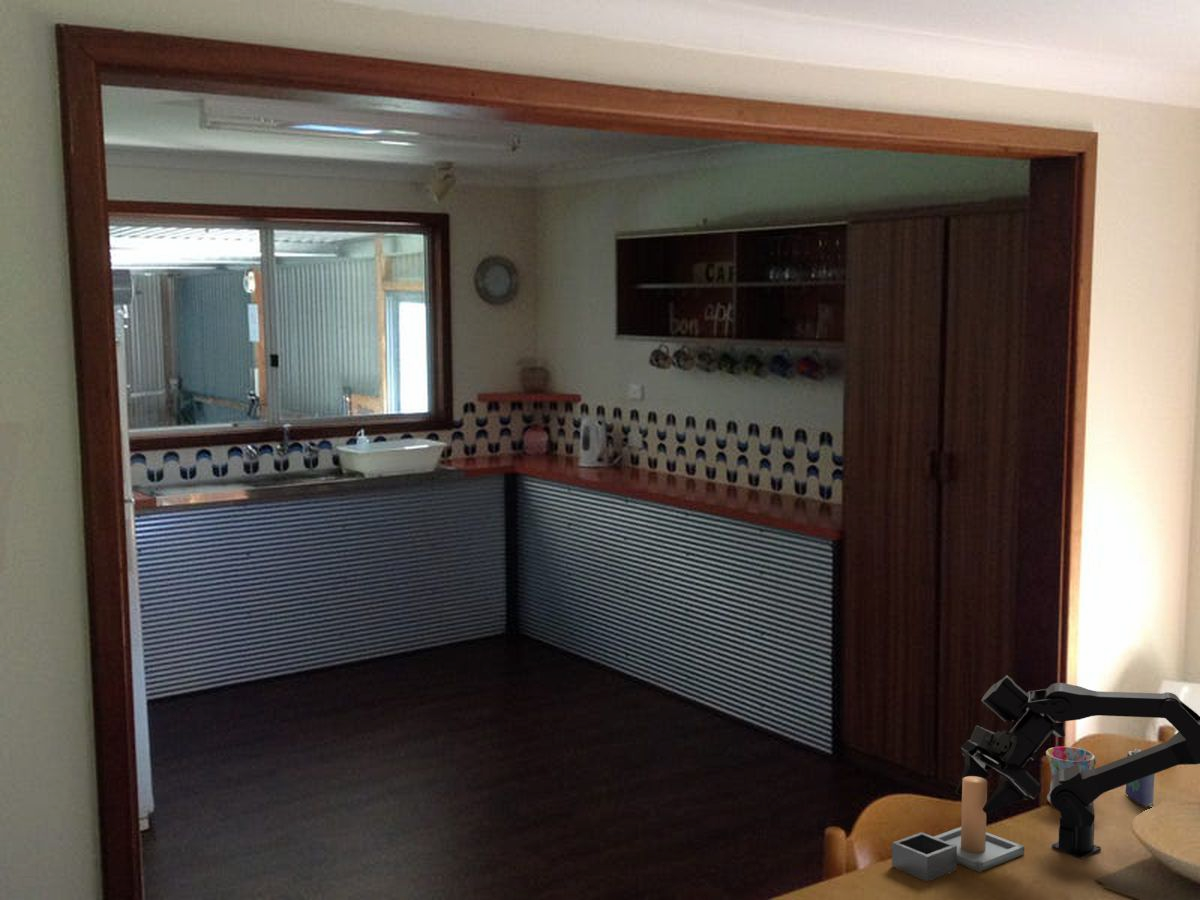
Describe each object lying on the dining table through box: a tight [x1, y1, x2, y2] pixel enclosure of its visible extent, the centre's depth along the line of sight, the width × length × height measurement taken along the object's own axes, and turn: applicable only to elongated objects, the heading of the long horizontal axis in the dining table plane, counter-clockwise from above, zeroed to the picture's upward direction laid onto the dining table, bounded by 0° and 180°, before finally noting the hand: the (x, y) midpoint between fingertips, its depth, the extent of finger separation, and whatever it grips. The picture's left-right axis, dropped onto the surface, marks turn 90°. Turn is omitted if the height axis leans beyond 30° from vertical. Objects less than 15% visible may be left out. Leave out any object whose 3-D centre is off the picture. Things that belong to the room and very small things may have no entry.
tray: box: [933, 826, 1025, 873], centre depth 239 cm, size 13×13×2 cm
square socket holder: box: [891, 831, 958, 883], centre depth 232 cm, size 8×8×4 cm
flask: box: [1124, 748, 1155, 809], centre depth 263 cm, size 9×3×11 cm, turn 2°
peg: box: [960, 776, 988, 853], centre depth 238 cm, size 4×4×13 cm
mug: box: [1045, 746, 1097, 804], centre depth 262 cm, size 12×9×11 cm
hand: (970, 802), depth 238 cm, fingers open, 9 cm apart
